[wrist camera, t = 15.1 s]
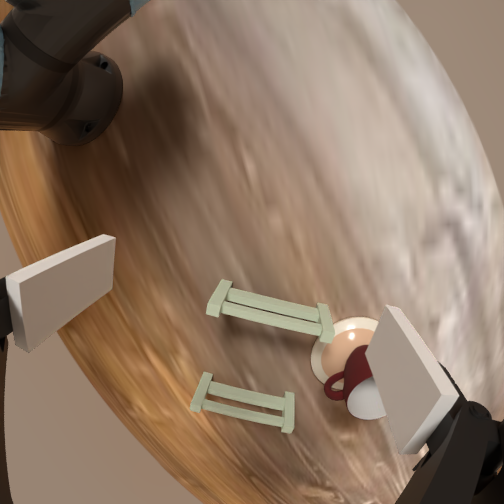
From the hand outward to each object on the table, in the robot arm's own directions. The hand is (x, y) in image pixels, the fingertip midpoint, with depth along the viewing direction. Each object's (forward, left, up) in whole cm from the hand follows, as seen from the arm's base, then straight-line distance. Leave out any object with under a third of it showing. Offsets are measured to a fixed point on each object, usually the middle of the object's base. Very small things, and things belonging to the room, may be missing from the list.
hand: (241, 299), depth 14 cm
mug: (+17, -17, -26) cm, 36 cm away
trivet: (+17, -17, -27) cm, 36 cm away
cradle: (+3, -19, -27) cm, 33 cm away
